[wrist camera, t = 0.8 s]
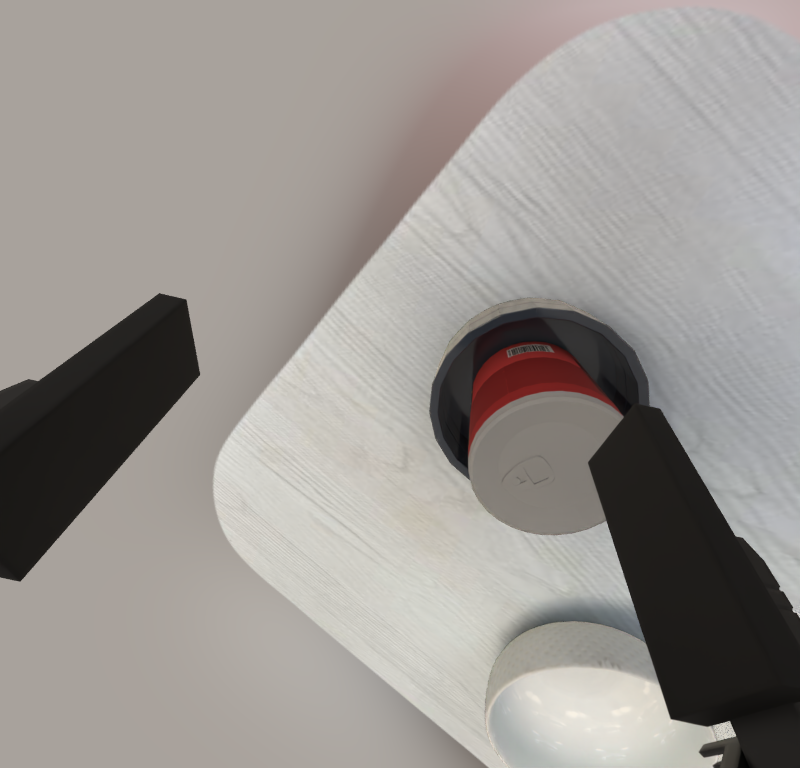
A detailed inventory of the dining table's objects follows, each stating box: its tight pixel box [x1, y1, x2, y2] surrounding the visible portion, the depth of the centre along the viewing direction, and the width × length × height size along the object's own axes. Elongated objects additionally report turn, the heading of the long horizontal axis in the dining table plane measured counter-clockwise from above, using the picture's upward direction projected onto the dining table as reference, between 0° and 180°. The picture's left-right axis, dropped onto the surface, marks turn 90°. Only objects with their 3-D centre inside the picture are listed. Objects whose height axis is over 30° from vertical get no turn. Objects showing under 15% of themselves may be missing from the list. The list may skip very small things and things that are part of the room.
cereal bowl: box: [485, 621, 719, 768], centre depth 33 cm, size 17×17×7 cm
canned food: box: [468, 341, 624, 535], centre depth 23 cm, size 8×8×11 cm
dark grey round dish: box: [429, 298, 650, 480], centre depth 27 cm, size 13×13×4 cm
